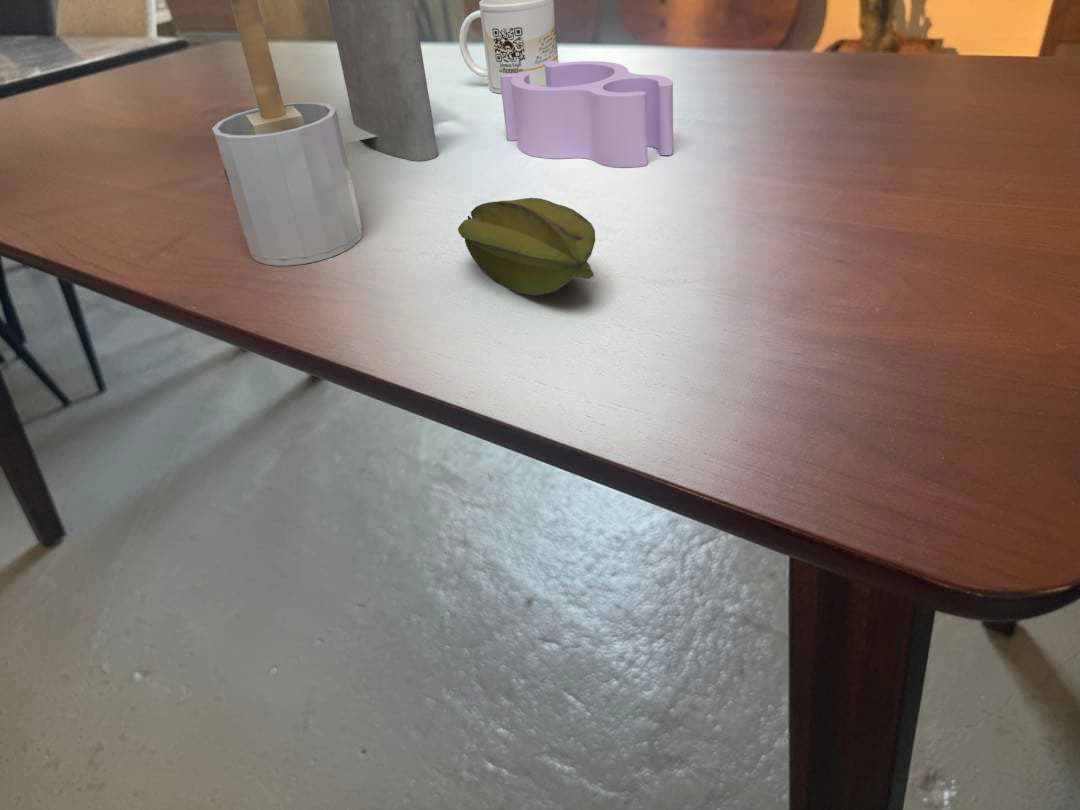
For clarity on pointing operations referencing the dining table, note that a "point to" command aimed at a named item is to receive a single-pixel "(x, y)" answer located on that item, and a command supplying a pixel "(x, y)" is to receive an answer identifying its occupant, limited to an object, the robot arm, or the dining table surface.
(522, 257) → the fruit
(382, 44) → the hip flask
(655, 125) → the clip
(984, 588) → the dining table surface
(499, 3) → the mug
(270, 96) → the brush
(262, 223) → the canister
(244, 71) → the dining table surface
